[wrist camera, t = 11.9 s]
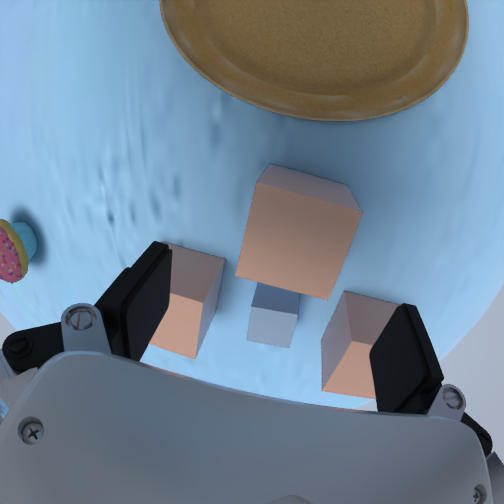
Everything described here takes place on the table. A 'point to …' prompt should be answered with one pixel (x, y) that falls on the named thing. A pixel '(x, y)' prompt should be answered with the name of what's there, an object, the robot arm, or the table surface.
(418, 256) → the table surface
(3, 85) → the table surface
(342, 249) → the toy block
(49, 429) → the robot arm
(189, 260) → the peach toy brick
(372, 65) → the plant saucer
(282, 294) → the cube
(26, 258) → the cupcake
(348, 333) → the salmon orange block
